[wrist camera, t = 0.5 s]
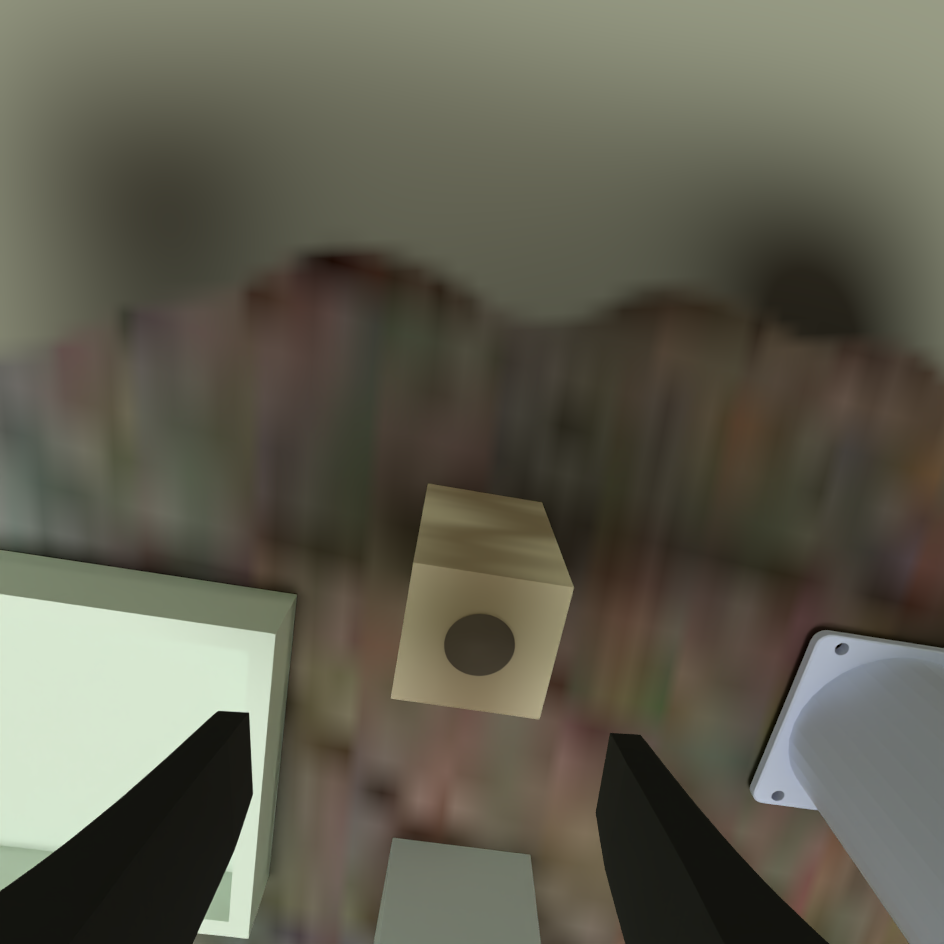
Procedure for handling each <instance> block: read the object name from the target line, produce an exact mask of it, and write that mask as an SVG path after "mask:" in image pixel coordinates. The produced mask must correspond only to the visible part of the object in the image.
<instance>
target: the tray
mask: <svg viewBox="0 0 944 944" xmlns="http://www.w3.org/2000/svg"><path fill="white" fill-rule="evenodd" d="M296 602H297V594H290V593H284V592H277V591H270V590H264V589H257V588H251V587H244V586H237V585H231V584H224V583H217V582H211V581H204V580H197V579H191V578H184V577H177V576H171V575H164V574H157V573H151V572H144V571H138V570H131V569H124V568H118V567H111V566H104V565H98V564H91V563H84V562H78V561H71V560H64V559H58V558H51V557H44V556H38V555H31V554H25V553H18V552H11V551H5V550H0V891H1V890H2V889H4V888H5V887H6V886H8V885H9V884H11V883H12V882H13V881H15V880H16V879H18V878H19V877H20V876H22V875H23V874H25V873H26V872H27V871H29V870H30V869H32V868H33V867H34V866H36V865H37V864H38V863H40V862H41V861H42V860H44V859H45V858H46V857H48V856H49V855H50V854H52V853H53V852H54V851H56V850H57V849H58V848H60V847H61V846H62V845H63V844H65V843H66V842H67V841H69V840H70V839H71V838H72V837H74V836H75V835H76V834H77V833H79V832H80V831H81V830H82V829H83V828H85V827H86V826H87V825H88V824H90V823H91V822H92V821H93V820H95V819H96V818H97V817H98V816H99V815H101V814H102V813H103V812H104V811H106V810H107V809H108V808H109V807H110V806H112V805H113V804H114V803H115V802H117V801H118V800H119V799H120V798H121V797H122V796H124V795H125V794H126V793H127V792H128V791H129V790H130V789H132V788H133V787H134V786H135V785H136V784H137V783H138V782H140V781H141V780H142V779H143V778H144V777H145V776H146V775H148V774H149V773H150V772H151V771H152V770H153V769H154V768H155V767H157V766H158V765H159V764H160V763H161V762H162V761H163V760H164V759H165V758H167V757H168V756H169V755H170V754H171V753H172V752H173V751H174V750H175V749H176V748H178V747H179V746H180V745H181V744H182V743H183V742H184V741H185V740H186V739H187V738H188V737H189V736H191V735H192V734H193V733H194V732H195V731H196V730H197V729H198V728H199V727H200V726H201V725H202V724H204V723H205V722H206V721H207V720H208V719H209V718H210V717H211V716H212V715H214V714H215V713H216V712H217V711H231V712H248V713H249V719H250V740H251V760H252V781H253V796H252V799H251V802H250V806H249V809H248V812H247V815H246V818H245V821H244V824H243V827H242V830H241V833H240V836H239V839H238V842H237V845H236V848H235V851H234V853H233V855H232V857H231V860H230V862H229V864H228V866H227V869H226V871H225V873H224V875H223V878H222V880H221V882H220V884H219V887H218V889H217V891H216V893H215V895H214V898H213V900H212V902H211V904H210V906H209V909H208V911H207V913H206V915H205V917H204V920H203V922H202V924H201V926H200V928H199V931H198V933H201V934H210V935H219V936H229V937H238V938H247V939H248V938H249V935H250V932H251V929H252V926H253V923H254V920H255V917H256V914H257V911H258V908H259V905H260V902H261V899H262V896H263V893H264V890H265V887H266V884H267V881H268V878H269V871H270V861H271V851H272V841H273V831H274V821H275V811H276V801H277V791H278V781H279V771H280V761H281V751H282V741H283V731H284V721H285V711H286V701H287V692H288V682H289V672H290V662H291V652H292V642H293V632H294V622H295V612H296Z"/></svg>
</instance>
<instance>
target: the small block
mask: <svg viewBox="0 0 944 944" xmlns="http://www.w3.org/2000/svg"><path fill="white" fill-rule="evenodd" d="M573 589H574V587H573V584H572V581H571V579H570V576H569V573H568V571H567V568H566V565H565V563H564V560H563V557H562V555H561V552H560V549H559V547H558V544H557V541H556V538H555V536H554V533H553V530H552V528H551V525H550V522H549V520H548V517H547V514H546V512H545V509H544V506H543V504H542V502H536V501H530V500H524V499H518V498H512V497H506V496H500V495H494V494H488V493H482V492H476V491H470V490H464V489H458V488H452V487H446V486H440V485H434V484H428V486H427V491H426V497H425V502H424V507H423V513H422V518H421V524H420V529H419V535H418V540H417V545H416V551H415V556H414V562H413V568H412V574H411V580H410V586H409V592H408V598H407V604H406V610H405V616H404V622H403V628H402V634H401V640H400V646H399V652H398V658H397V664H396V670H395V676H394V682H393V688H392V694H391V699H398V700H405V701H412V702H419V703H426V704H434V705H441V706H448V707H455V708H462V709H469V710H477V711H484V712H491V713H498V714H505V715H512V716H520V717H527V718H534V719H540V715H541V711H542V708H543V704H544V700H545V696H546V692H547V688H548V685H549V681H550V677H551V673H552V669H553V666H554V662H555V658H556V654H557V650H558V646H559V643H560V639H561V635H562V631H563V627H564V624H565V620H566V616H567V612H568V608H569V605H570V601H571V597H572V593H573Z"/></svg>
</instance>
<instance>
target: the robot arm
mask: <svg viewBox="0 0 944 944" xmlns="http://www.w3.org/2000/svg"><path fill="white" fill-rule="evenodd" d="M840 643H842V645H841V646H840V647H838V648H837V649H835V648H836V646H837V645H839V644H840ZM750 791H751V794H752V795H753V797H754V799H755V800H756V801H758V802H761V803H767V804H775V805H782V806H790V807H797V808H805V809H812V810H818V811H819V812H820V814H821V815H822V816H823V818H824V819H825V821H826V822H827V824H828V825H829V827H830V828H831V830H832V831H833V833H834V834H835V836H836V837H837V838H838V840H839V841H840V843H841V844H842V846H843V847H844V849H845V850H846V852H847V853H848V855H849V856H850V857H851V859H852V860H853V862H854V863H855V865H856V866H857V868H858V869H859V871H860V872H861V874H862V875H863V876H864V878H865V879H866V881H867V882H868V884H869V885H870V887H871V888H872V890H873V891H874V893H875V894H876V895H877V897H878V898H879V900H880V901H881V903H882V904H883V906H884V907H885V909H886V910H887V912H888V913H889V914H890V916H891V917H892V919H893V920H894V922H895V923H896V925H897V926H898V928H899V929H900V931H901V932H902V934H903V935H904V936H905V938H906V939H907V941H908V942H909V944H944V648H939V647H933V646H926V645H920V644H913V643H907V642H901V641H894V640H888V639H881V638H875V637H869V636H862V635H856V634H849V633H843V632H837V631H830V630H823V631H820V632H817V633H816V634H815V635H814V636H813V637H812V639H811V640H810V643H809V645H808V648H807V650H806V652H805V655H804V657H803V660H802V662H801V665H800V667H799V669H798V672H797V674H796V677H795V679H794V681H793V684H792V686H791V689H790V691H789V693H788V696H787V698H786V701H785V703H784V706H783V708H782V710H781V713H780V715H779V718H778V720H777V722H776V725H775V727H774V730H773V732H772V734H771V737H770V739H769V742H768V744H767V747H766V749H765V751H764V754H763V756H762V759H761V761H760V763H759V766H758V768H757V771H756V773H755V775H754V778H753V780H752V783H751V785H750ZM252 796H253V781H252V760H251V740H250V719H249V713H248V712H231V711H217V712H216V713H215V714H214V715H212V716H211V717H210V718H209V719H208V720H207V721H206V722H205V723H204V724H202V725H201V726H200V727H199V728H198V729H197V730H196V731H195V732H194V733H193V734H192V735H191V736H189V737H188V738H187V739H186V740H185V741H184V742H183V743H182V744H181V745H180V746H179V747H178V748H176V749H175V750H174V751H173V752H172V753H171V754H170V755H169V756H168V757H167V758H165V759H164V760H163V761H162V762H161V763H160V764H159V765H158V766H157V767H155V768H154V769H153V770H152V771H151V772H150V773H149V774H148V775H146V776H145V777H144V778H143V779H142V780H141V781H140V782H138V783H137V784H136V785H135V786H134V787H133V788H132V789H130V790H129V791H128V792H127V793H126V794H125V795H124V796H122V797H121V798H120V799H119V800H118V801H117V802H115V803H114V804H113V805H112V806H110V807H109V808H108V809H107V810H106V811H104V812H103V813H102V814H101V815H99V816H98V817H97V818H96V819H95V820H93V821H92V822H91V823H90V824H88V825H87V826H86V827H85V828H83V829H82V830H81V831H80V832H79V833H77V834H76V835H75V836H74V837H72V838H71V839H70V840H69V841H67V842H66V843H65V844H63V845H62V846H61V847H60V848H58V849H57V850H56V851H54V852H53V853H52V854H50V855H49V856H48V857H46V858H45V859H44V860H42V861H41V862H40V863H38V864H37V865H36V866H34V867H33V868H32V869H30V870H29V871H27V872H26V873H25V874H23V875H22V876H20V877H19V878H18V879H16V880H15V881H13V882H12V883H11V884H9V885H8V886H6V887H5V888H4V889H2V890H1V891H0V944H193V942H194V939H195V937H196V935H197V933H198V931H199V928H200V926H201V924H202V922H203V920H204V917H205V915H206V913H207V911H208V909H209V906H210V904H211V902H212V900H213V898H214V895H215V893H216V891H217V889H218V887H219V884H220V882H221V880H222V878H223V875H224V873H225V871H226V869H227V866H228V864H229V862H230V860H231V857H232V855H233V853H234V851H235V848H236V845H237V842H238V839H239V836H240V833H241V830H242V827H243V824H244V821H245V818H246V815H247V812H248V809H249V806H250V802H251V799H252ZM596 817H597V823H598V830H599V836H600V843H601V849H602V854H603V860H604V866H605V871H606V874H607V878H608V882H609V886H610V889H611V893H612V897H613V900H614V904H615V908H616V912H617V915H618V919H619V922H620V926H621V930H622V933H623V937H624V940H625V944H829V943H828V942H827V941H825V940H824V939H823V938H822V937H821V936H820V935H819V934H818V933H817V932H816V931H815V930H814V929H813V928H812V927H810V926H809V925H808V924H807V923H806V922H805V921H804V920H803V919H802V918H801V917H800V916H799V915H798V914H797V913H796V912H795V911H794V910H793V909H792V908H791V907H790V906H789V905H788V904H786V903H785V902H784V901H783V900H782V899H781V898H780V897H779V896H778V895H777V894H776V893H775V892H774V891H773V890H772V889H771V888H770V887H769V886H768V885H767V884H766V883H765V882H764V881H763V879H762V878H761V877H760V876H759V875H758V874H757V873H756V872H755V871H754V870H753V869H752V868H751V867H750V866H749V864H748V863H747V862H746V861H745V860H744V859H743V858H742V857H741V856H740V855H739V854H738V853H737V852H736V850H735V849H734V848H733V847H732V846H731V845H730V844H729V843H728V841H727V840H726V839H725V838H724V837H723V836H722V835H721V833H720V832H719V831H718V830H717V829H716V828H715V826H714V825H713V824H712V823H711V822H710V820H709V819H708V818H707V817H706V816H705V815H704V813H703V812H702V811H701V810H700V809H699V808H698V806H697V805H696V804H695V803H694V801H693V800H692V799H691V798H690V797H689V795H688V794H687V793H686V792H685V790H684V789H683V788H682V787H681V785H680V784H679V783H678V782H677V780H676V779H675V778H674V777H673V775H672V774H671V773H670V772H669V770H668V769H667V768H666V767H665V765H664V764H663V763H662V761H661V760H660V759H659V758H658V756H657V755H656V754H655V753H654V751H653V750H652V749H651V748H650V746H649V745H648V744H647V743H646V741H645V740H644V739H643V738H642V736H641V735H634V734H617V733H610V737H609V742H608V748H607V753H606V759H605V764H604V770H603V775H602V781H601V786H600V792H599V797H598V803H597V808H596Z"/></svg>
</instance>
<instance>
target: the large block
mask: <svg viewBox="0 0 944 944" xmlns="http://www.w3.org/2000/svg"><path fill="white" fill-rule="evenodd" d="M374 944H541V941H540V932H539V924H538V915H537V906H536V898H535V889H534V881H533V872H532V864H531V855H529V854H521V853H513V852H504V851H496V850H488V849H480V848H472V847H464V846H456V845H448V844H440V843H431V842H423V841H415V840H407V839H399V838H393V839H392V845H391V850H390V856H389V861H388V867H387V872H386V878H385V883H384V889H383V894H382V899H381V905H380V910H379V916H378V921H377V927H376V932H375V938H374Z"/></svg>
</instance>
